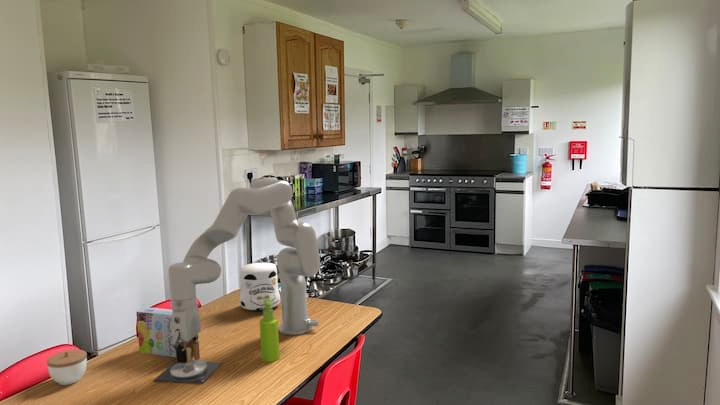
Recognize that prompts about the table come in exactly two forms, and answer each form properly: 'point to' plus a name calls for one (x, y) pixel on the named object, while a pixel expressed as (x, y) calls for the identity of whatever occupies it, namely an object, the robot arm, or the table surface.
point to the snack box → (155, 331)
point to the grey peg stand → (188, 372)
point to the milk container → (258, 286)
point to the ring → (195, 350)
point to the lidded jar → (67, 366)
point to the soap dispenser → (269, 334)
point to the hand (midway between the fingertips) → (188, 356)
